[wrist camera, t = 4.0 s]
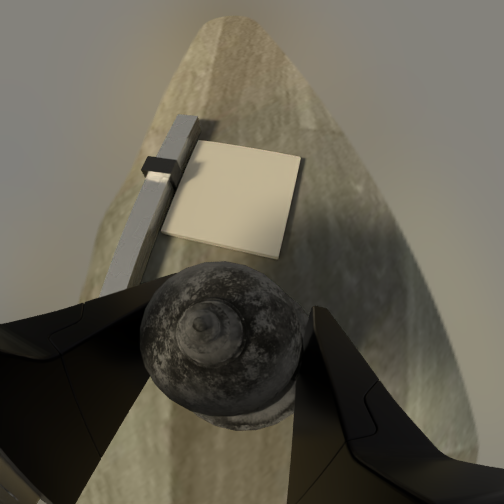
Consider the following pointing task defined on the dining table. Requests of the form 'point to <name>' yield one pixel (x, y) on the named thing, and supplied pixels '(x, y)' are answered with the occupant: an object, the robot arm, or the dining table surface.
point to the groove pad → (234, 198)
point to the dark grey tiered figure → (225, 345)
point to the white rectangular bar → (151, 205)
